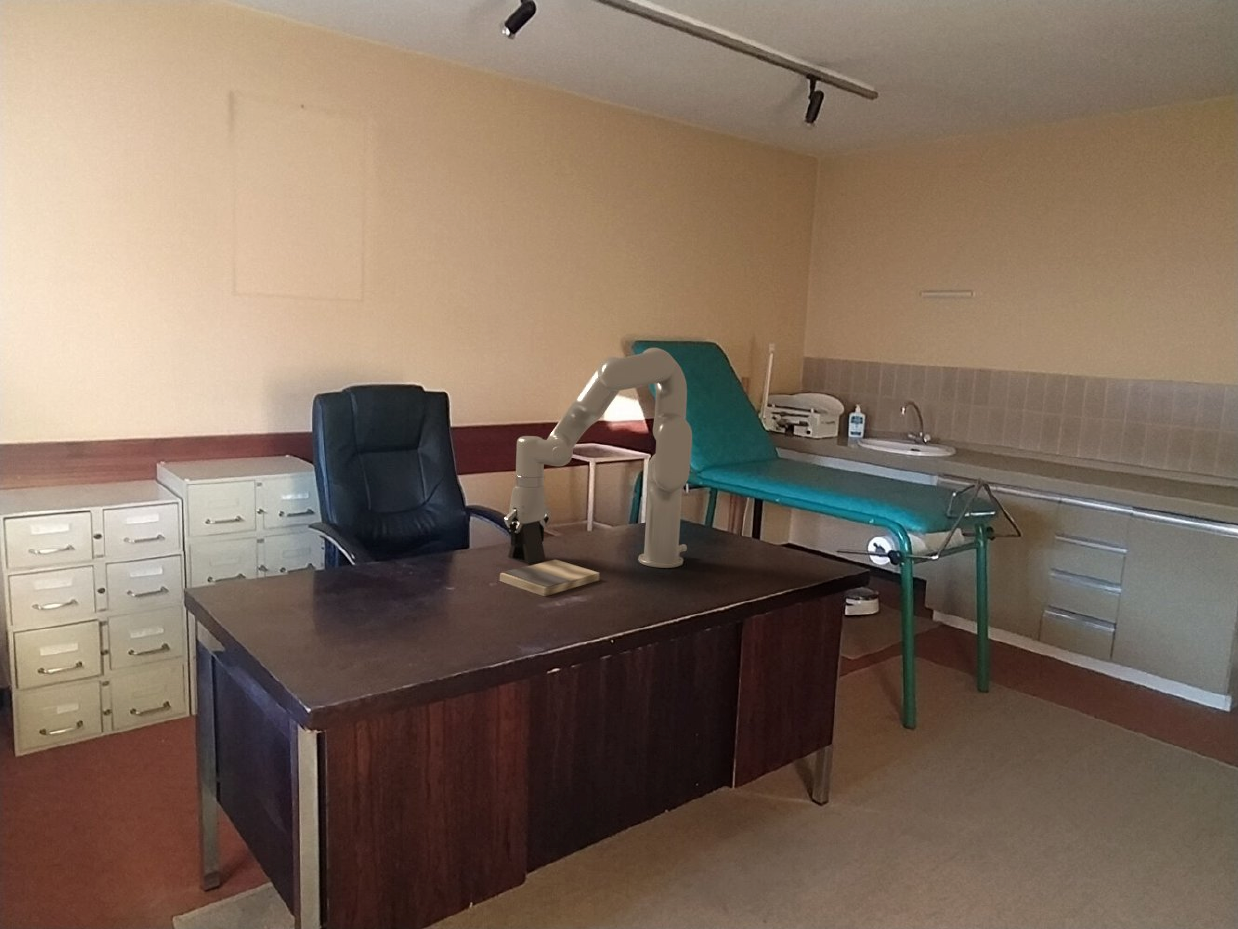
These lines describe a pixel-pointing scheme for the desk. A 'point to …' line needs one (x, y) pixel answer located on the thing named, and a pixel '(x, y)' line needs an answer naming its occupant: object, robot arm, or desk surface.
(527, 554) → the dark a-frame stand
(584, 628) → the desk surface
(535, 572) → the subfloor panel
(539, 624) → the desk surface
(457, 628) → the desk surface
